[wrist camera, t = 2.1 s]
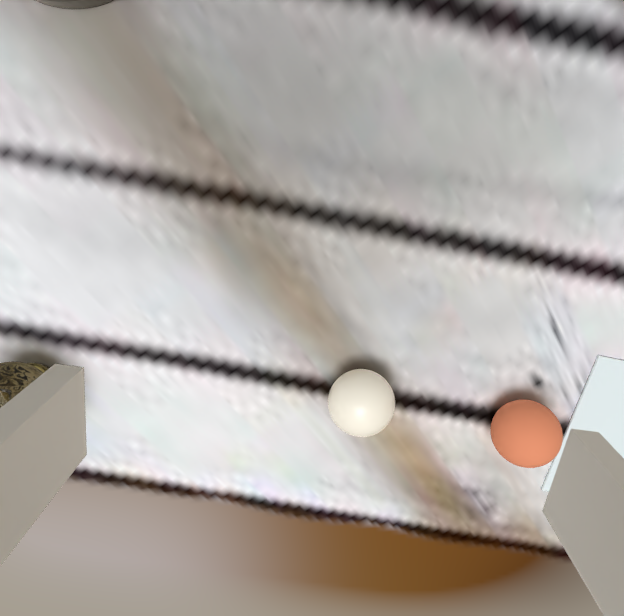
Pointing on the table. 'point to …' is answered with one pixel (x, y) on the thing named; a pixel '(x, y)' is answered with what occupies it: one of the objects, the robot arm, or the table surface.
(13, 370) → the cup
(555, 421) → the orange ball
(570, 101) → the table surface
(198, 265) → the table surface
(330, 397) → the cue ball
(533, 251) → the table surface
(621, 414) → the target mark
